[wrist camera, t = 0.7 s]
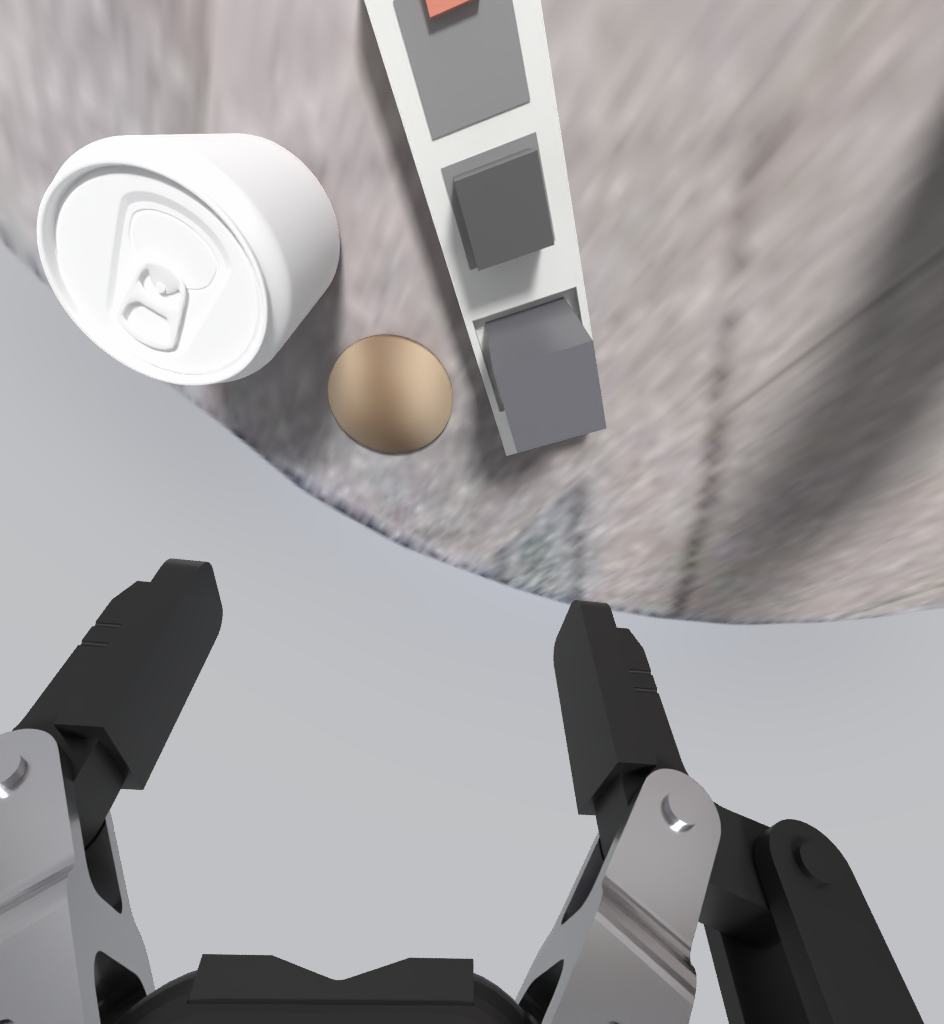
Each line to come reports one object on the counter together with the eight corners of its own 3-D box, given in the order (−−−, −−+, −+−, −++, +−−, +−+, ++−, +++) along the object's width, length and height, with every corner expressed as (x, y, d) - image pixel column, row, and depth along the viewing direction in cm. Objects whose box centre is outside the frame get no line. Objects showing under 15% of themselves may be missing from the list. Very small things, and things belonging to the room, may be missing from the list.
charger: (563, 296, 26) (592, 340, 21) (577, 373, 29) (606, 429, 24) (484, 322, 27) (493, 371, 22) (505, 394, 30) (517, 454, 24)
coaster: (427, 316, 29) (426, 320, 28) (467, 430, 34) (468, 434, 33) (306, 357, 30) (304, 361, 30) (362, 461, 35) (361, 465, 34)
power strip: (488, -243, 17) (501, -384, 12) (595, 406, 33) (619, 453, 28) (321, -156, 18) (275, -256, 13) (502, 433, 34) (510, 482, 29)
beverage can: (369, 212, 25) (321, 260, 16) (302, 336, 29) (232, 434, 20) (215, 88, 22) (42, 58, 13) (163, 246, 26) (0, 313, 17)
